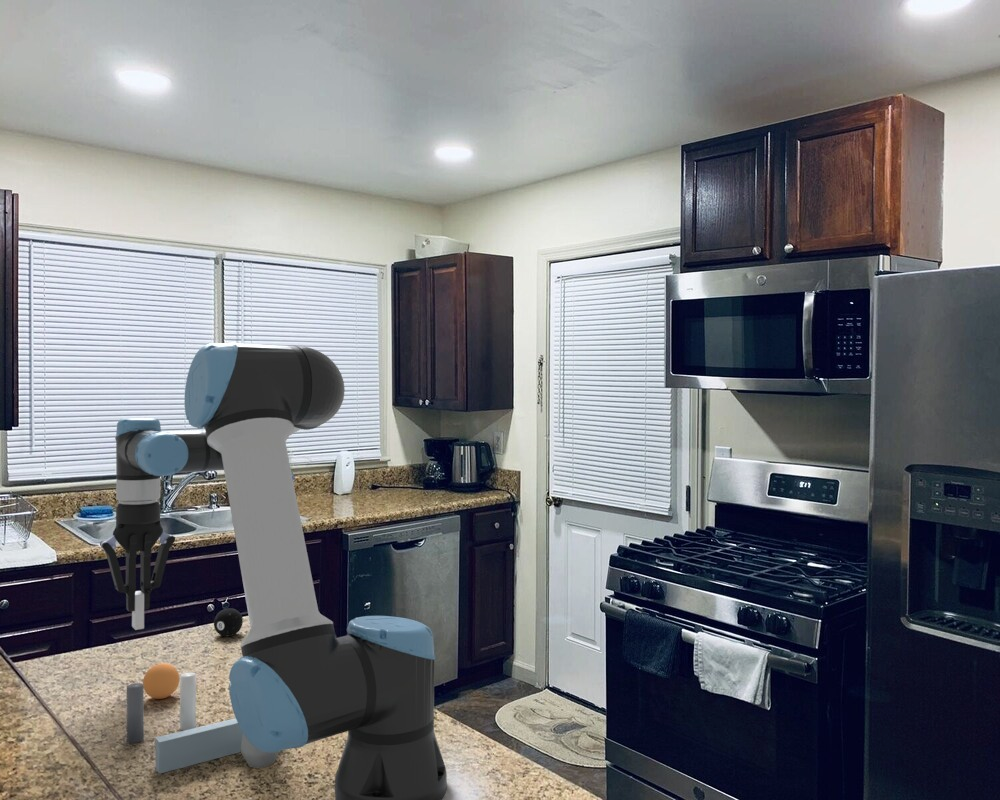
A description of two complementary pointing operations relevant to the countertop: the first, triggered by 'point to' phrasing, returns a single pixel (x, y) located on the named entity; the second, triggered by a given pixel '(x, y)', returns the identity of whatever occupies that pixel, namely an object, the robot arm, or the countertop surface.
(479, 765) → the countertop surface
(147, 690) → the ball
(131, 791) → the countertop surface
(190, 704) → the white pin
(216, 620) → the billiard ball
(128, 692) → the charcoal pin
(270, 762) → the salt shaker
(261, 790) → the countertop surface
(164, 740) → the board
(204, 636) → the countertop surface
